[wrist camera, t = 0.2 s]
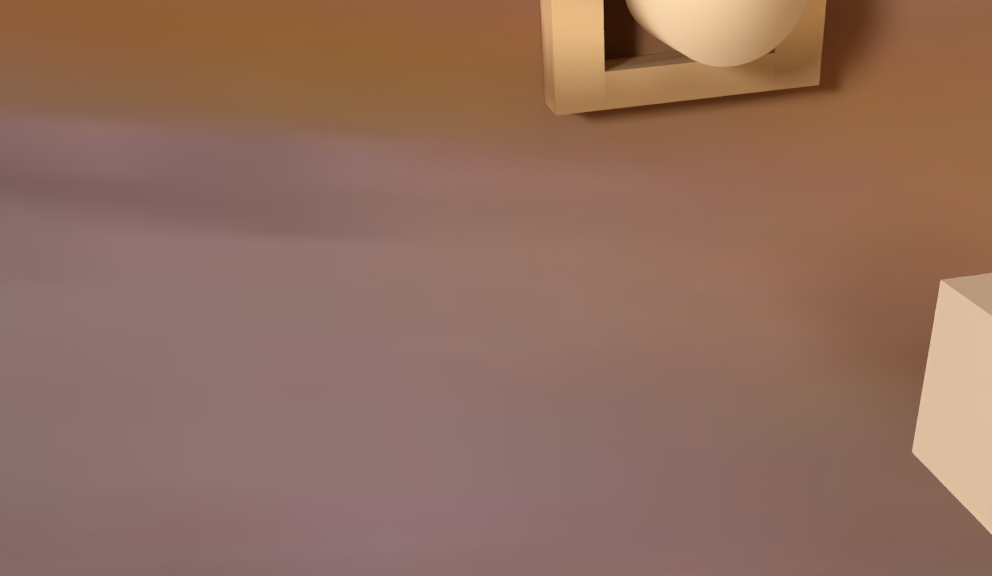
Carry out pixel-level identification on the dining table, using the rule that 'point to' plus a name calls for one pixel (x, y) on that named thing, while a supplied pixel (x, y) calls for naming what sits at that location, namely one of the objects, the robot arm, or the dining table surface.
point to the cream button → (718, 26)
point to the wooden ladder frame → (660, 64)
